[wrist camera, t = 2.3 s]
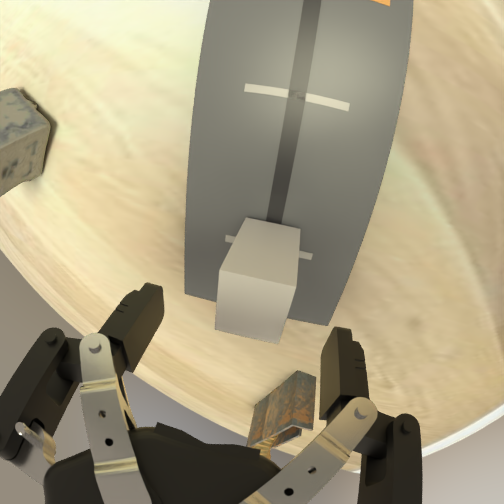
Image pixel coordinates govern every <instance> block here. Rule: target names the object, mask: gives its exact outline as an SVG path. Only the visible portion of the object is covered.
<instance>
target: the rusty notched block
mask: <svg viewBox="0 0 504 504" xmlns="http://www.w3.org/2000/svg"><path fill="white" fill-rule="evenodd" d="M315 390H316V377H314V376H312V375H309V374H306V373H304V372H301V371H296V372H295V373H294V374H293V375H292V376H291V377H289V378H288V379H287V380H286V381H285V382H284V383H282V384H281V385H280V386H279V387H277V388H276V389H275V390H274V391H273V392H271V393H270V394H269V395H268V396H266V397H265V398H264V399H262V400H261V401H260V402H259V403H257V404H256V405H255V409H254V414H253V418H252V423H251V427H250V432H249V436H248V441H247V445H246V447H250V448H256V449H261V451H260V455H262V456H264V457H266V458H268V459H270V458H271V456H270V449H273V448H275V447H278V446H280V445H282V444H284V443H287V442H289V441H291V440H293V439H295V438H297V437H300V436H301V432H302V429H306V430H310V431H312V430H313V422H314V408H315Z"/></svg>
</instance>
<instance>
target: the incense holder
mask: <svg viewBox="0 0 504 504" xmlns="http://www.w3.org/2000/svg"><path fill="white" fill-rule="evenodd" d="M36 108H37V104H36V103H34V102H32V101H29V100H27V99H26V98H25V97H24V96H23V95H22V93H20V91H19V90H18V89H17V88H11V89H6V90H3V91H1V92H0V196H2V195H4V194H5V193H6V192H8V191H10V190H11V189H12V188H14V187H16V186H17V185H18V184H20V183H22V182H24V181H31V180H32V179H34V178H36V177H38V176H40V175H41V173H42V169H43V160H44V155H45V150H46V145H47V141H48V137H49V132H50V128H51V126H50V123H49V121H48V120H47V119H46V118H45V117H44V116H43V115H42V114H41V113H39V112H38V111H37V110H36Z"/></svg>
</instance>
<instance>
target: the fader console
mask: <svg viewBox="0 0 504 504" xmlns="http://www.w3.org/2000/svg"><path fill="white" fill-rule="evenodd" d="M412 16H413V0H210V4H209V9H208V14H207V19H206V24H205V30H204V35H203V41H202V47H201V54H200V60H199V67H198V74H197V82H196V89H195V98H194V106H193V116H192V126H191V136H190V148H189V161H188V176H187V194H186V218H185V294H187V295H191V296H195V297H199V298H203V299H207V300H210V301H214V302H217V292H218V280H219V270H220V268H221V266H222V264H223V262H224V260H225V258H226V256H227V254H228V252H229V250H230V248H231V246H232V244H233V242H234V240H235V238H236V236H237V234H238V232H239V230H240V228H241V226H242V224H243V222H244V220H245V218H246V217H247V218H252V219H256V220H261V221H266V222H271V223H275V224H280V225H285V226H289V227H294V228H298V229H301V230H300V245H299V260H298V273H297V285H296V290H295V293H294V296H293V300H292V303H291V306H290V309H289V312H288V316H287V318H289V319H294V320H299V321H304V322H309V323H314V324H319V325H325V326H328V324H329V322H330V320H331V318H332V315H333V313H334V311H335V309H336V306H337V304H338V302H339V299H340V297H341V295H342V292H343V290H344V287H345V285H346V283H347V280H348V278H349V275H350V273H351V270H352V268H353V265H354V262H355V260H356V257H357V254H358V252H359V249H360V246H361V244H362V241H363V238H364V235H365V232H366V229H367V226H368V224H369V221H370V218H371V215H372V211H373V208H374V205H375V202H376V199H377V196H378V192H379V189H380V186H381V182H382V179H383V175H384V172H385V168H386V165H387V161H388V157H389V153H390V149H391V145H392V141H393V137H394V133H395V128H396V124H397V119H398V115H399V110H400V105H401V100H402V94H403V89H404V83H405V77H406V71H407V64H408V56H409V48H410V39H411V29H412Z"/></svg>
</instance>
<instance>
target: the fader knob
mask: <svg viewBox="0 0 504 504" xmlns="http://www.w3.org/2000/svg"><path fill="white" fill-rule="evenodd" d="M300 230H301V229H298V228H294V227H289V226H285V225H280V224H275V223H271V222H266V221H261V220H256V219H252V218H247V217H246V218H245V220H244V222H243V224H242V226H241V228H240V230H239V232H238V234H237V236H236V238H235V240H234V242H233V244H232V246H231V248H230V250H229V252H228V254H227V256H226V258H225V260H224V262H223V264H222V266H221V268H220V270H219V280H218V292H217V304H216V317H215V330H219V331H223V332H227V333H231V334H235V335H239V336H243V337H248V338H252V339H257V340H261V341H266V342H270V343H275V344H278V343H279V340H280V337H281V334H282V331H283V328H284V325H285V322H286V319H287V316H288V312H289V309H290V306H291V303H292V300H293V296H294V293H295V290H296V285H297V273H298V260H299V245H300Z"/></svg>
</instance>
